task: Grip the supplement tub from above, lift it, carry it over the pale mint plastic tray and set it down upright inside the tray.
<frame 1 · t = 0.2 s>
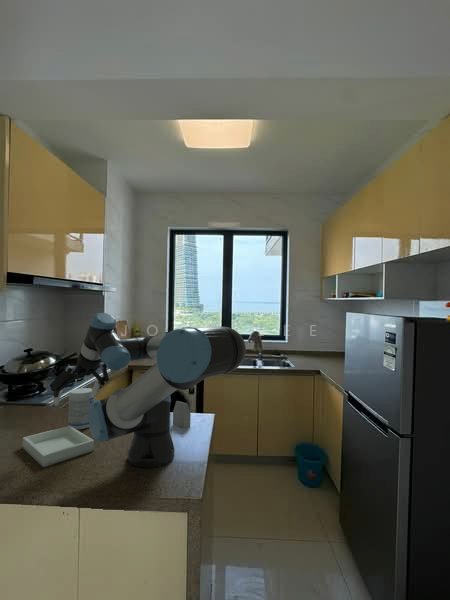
hand: (75, 398, 115), 16 cm above the worktop, tool tilted 35°, fingers open, 13 cm apart
tray: (57, 449, 110), on the worktop
grey block: (181, 426, 133), on the worktop
supplement tub: (80, 426, 131), on the worktop
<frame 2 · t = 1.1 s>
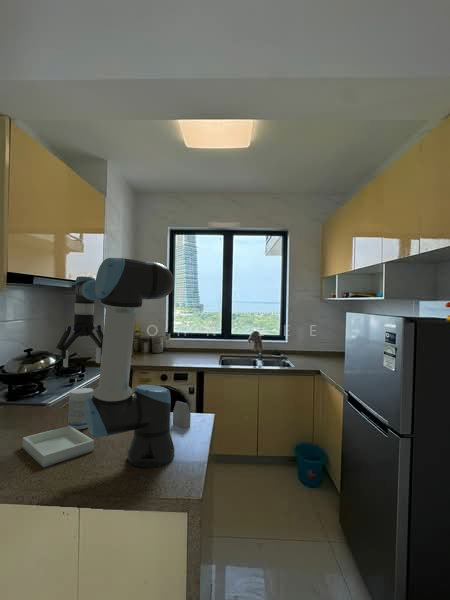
hand: (82, 364, 131), 26 cm above the worktop, tool pointing down, fingers open, 13 cm apart
nothing on the worktop moved.
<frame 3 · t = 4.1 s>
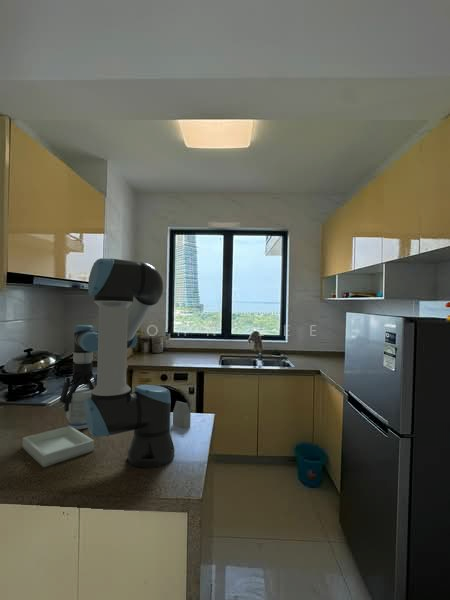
hand: (81, 416, 132), 4 cm above the worktop, tool pointing down, fingers closed on supplement tub, 9 cm apart
supplement tub: (80, 426, 131), on the worktop, touching gripper
everything else where it was.
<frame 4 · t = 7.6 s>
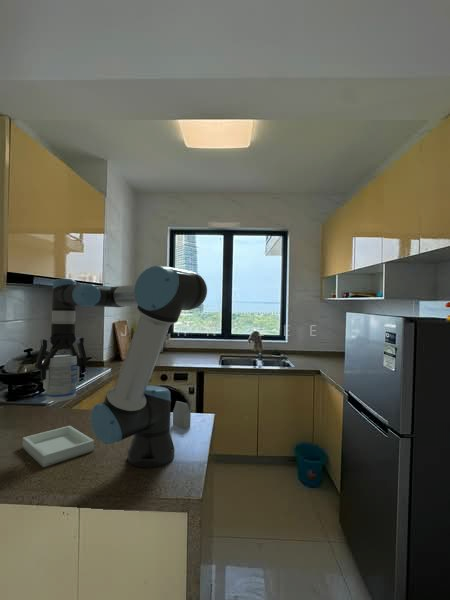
hand: (61, 386, 111), 21 cm above the worktop, tool pointing down, fingers closed on supplement tub, 9 cm apart
supplement tub: (61, 398, 111), point 17 cm above the worktop, touching gripper
everything else where it was.
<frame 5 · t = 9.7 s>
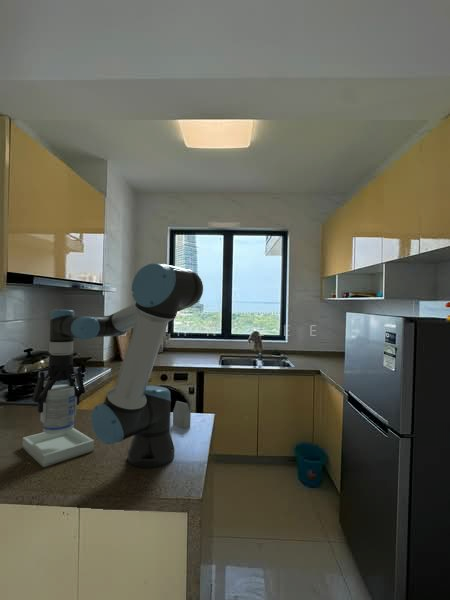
hand: (58, 418, 110), 11 cm above the worktop, tool pointing down, fingers closed on supplement tub, 9 cm apart
supplement tub: (58, 430, 110), point 6 cm above the worktop, touching gripper
everything else where it was.
when the fingers open (7 cm above the worktop, at t = 11.5 s): supplement tub drops 2 cm, resting on tray.
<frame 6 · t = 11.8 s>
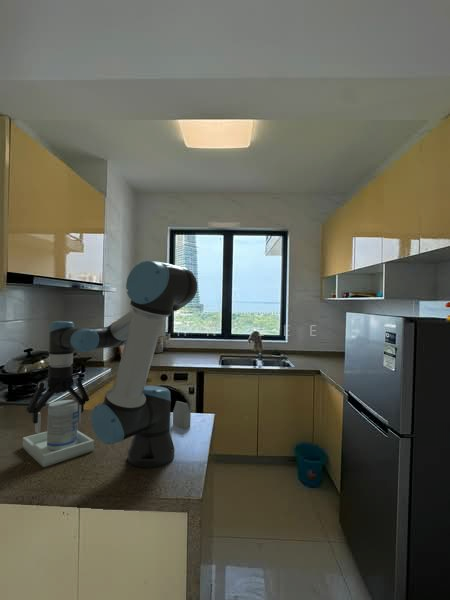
hand: (58, 427, 110), 8 cm above the worktop, tool pointing down, fingers open, 13 cm apart
supplement tub: (62, 446, 110), point 1 cm above the worktop, touching tray
everything else where it was.
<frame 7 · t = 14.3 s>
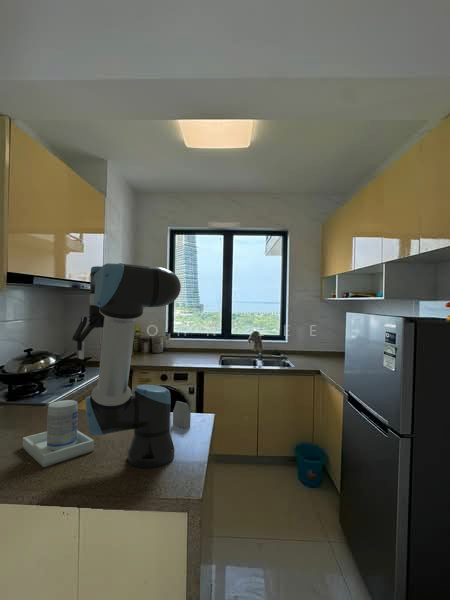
hand: (97, 357, 128), 29 cm above the worktop, tool pointing down, fingers open, 13 cm apart
nothing on the worktop moved.
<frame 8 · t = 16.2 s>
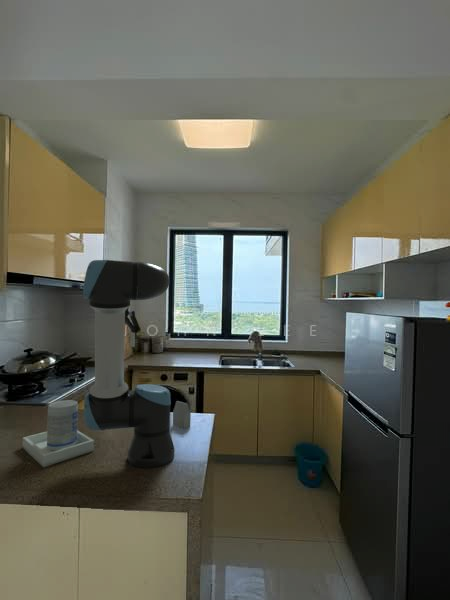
hand: (118, 347, 140), 32 cm above the worktop, tool pointing down, fingers open, 13 cm apart
nothing on the worktop moved.
at the end: supplement tub inside the target area on the tray (1.3 cm from its centre), point 0.6 cm above the tray's base; supplement tub tilted 0°; the gripper is holding nothing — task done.
